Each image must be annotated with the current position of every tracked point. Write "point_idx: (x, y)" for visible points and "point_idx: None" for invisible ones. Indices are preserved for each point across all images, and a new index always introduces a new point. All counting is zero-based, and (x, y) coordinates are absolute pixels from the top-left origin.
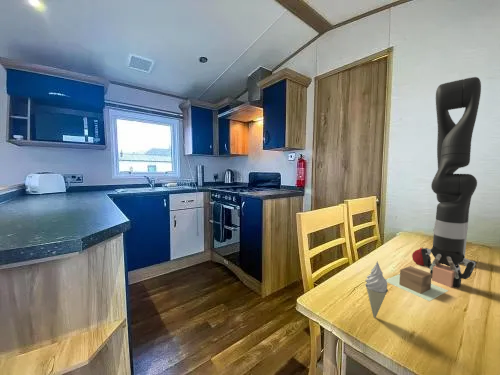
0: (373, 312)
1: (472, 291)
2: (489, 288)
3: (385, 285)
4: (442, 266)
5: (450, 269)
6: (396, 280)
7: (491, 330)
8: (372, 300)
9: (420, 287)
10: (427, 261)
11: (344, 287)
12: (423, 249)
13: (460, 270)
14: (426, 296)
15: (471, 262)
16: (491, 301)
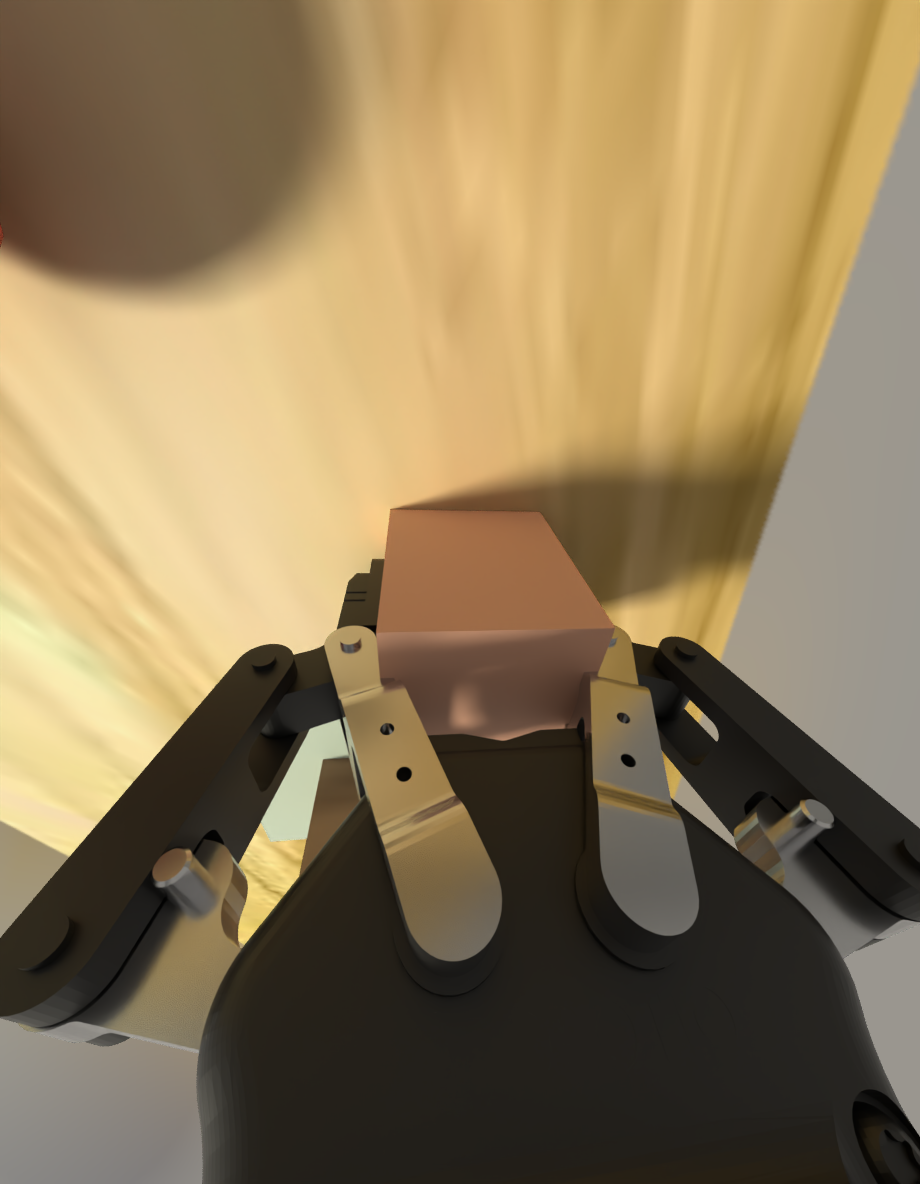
0: None
1: (643, 481)
2: (835, 153)
3: None
4: (442, 693)
5: (534, 702)
6: (296, 805)
7: (671, 777)
8: None
9: None
10: (285, 771)
11: (254, 904)
12: (120, 1035)
13: (637, 680)
14: None
15: (861, 947)
16: (740, 543)
